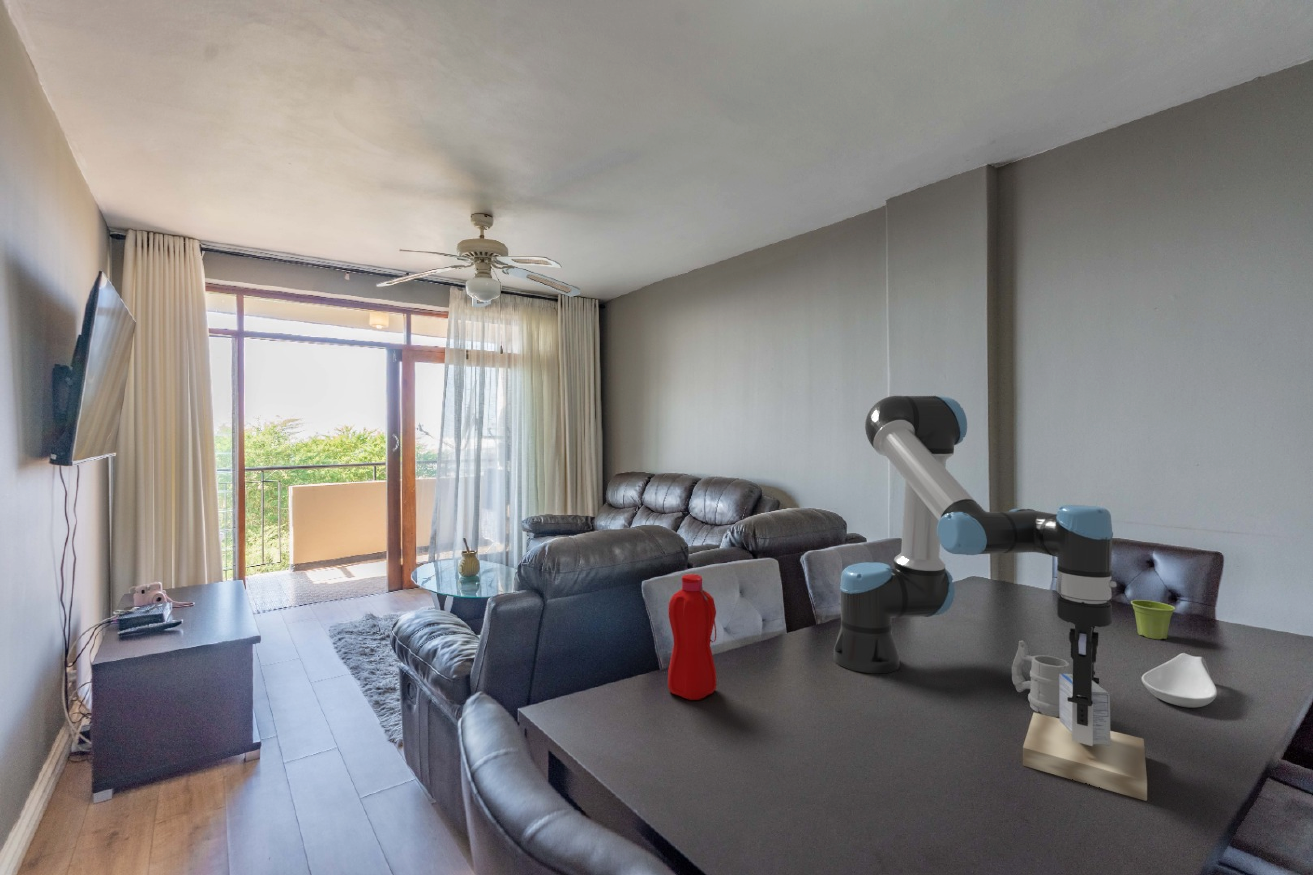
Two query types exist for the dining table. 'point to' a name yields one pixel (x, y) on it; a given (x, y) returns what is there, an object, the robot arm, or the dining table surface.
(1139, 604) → the plant pot
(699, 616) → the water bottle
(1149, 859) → the dining table surface
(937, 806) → the dining table surface
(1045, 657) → the mug
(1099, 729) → the medicine box
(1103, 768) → the birch stand
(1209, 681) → the spoon rest
